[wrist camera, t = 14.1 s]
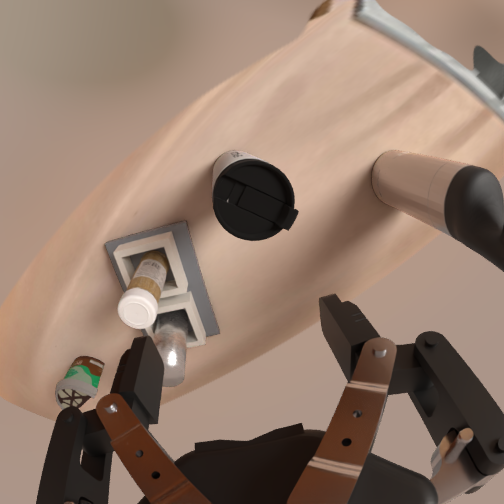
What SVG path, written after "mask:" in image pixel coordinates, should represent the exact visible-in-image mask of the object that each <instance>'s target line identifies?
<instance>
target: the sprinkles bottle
mask: <svg viewBox="0 0 504 504" xmlns="http://www.w3.org/2000/svg"><path fill="white" fill-rule="evenodd" d="M168 270H169V261H168V259H167V257H166V256H165V255H164V254H163V253H161V252H158V251H149V252H147V253H145V254H144V255H143V256H142V258H141V261H140V264H139V265H138V267H137V268H136V270H135V272H134V274H133V276H132V279H131V281H130V283H129V285H128V287H127V290H126V292H125V293H124V294H123V295H122V297H121V299H120V301H119V304H118V314H119V317H120V319H121V320H122V321H123V322H124V323H125V324H126V325H128V326H129V327H132V328H135V329H145V328H148V327H150V326H151V325H152V324H153V323H154V321H155V319H156V316H157V312H158V303H159V299H160V297H161V293H162V290H163V286H164V283H165V280H166V275H167V272H168Z"/></svg>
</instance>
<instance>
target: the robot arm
mask: <svg viewBox="0 0 504 504" xmlns="http://www.w3.org/2000/svg"><path fill="white" fill-rule="evenodd" d="M372 186H373V189H374V192H375V194H376V196H377V197H378V198H379V199H380V200H381V201H382V202H384V203H385V204H388V205H390V206H392V207H394V208H396V209H398V210H400V211H402V212H404V213H406V214H408V215H410V216H412V217H414V218H416V219H418V220H420V221H422V222H424V223H426V224H428V225H430V226H432V227H434V228H436V229H438V230H440V231H442V232H444V233H446V234H447V235H449V236H451V237H453V238H455V239H456V240H458V241H460V242H462V243H463V244H464V245H466V246H467V247H469V248H470V249H472V250H473V251H475V252H477V253H478V254H480V255H481V256H483V257H484V258H486V259H487V260H489V261H490V262H491V263H493V264H494V265H496V266H497V267H498V268H499V269H501V270H502V271H503V272H504V200H503V193H502V189H501V186H500V184H499V181H498V180H497V178H496V177H495V175H494V174H493V173H491V172H490V171H489V170H487V169H484V168H481V167H477V166H473V165H469V164H465V163H460V162H455V161H451V160H446V159H442V158H437V157H432V156H426V155H421V154H415V153H410V152H404V151H397V150H391V151H388V152H385V153H384V154H382V155H381V156H380V157H379V158H378V160H377V161H376V163H375V165H374V168H373V171H372ZM319 306H320V318H321V326H322V331H323V334H324V337H325V338H326V340H327V342H328V344H329V346H330V348H331V349H332V352H333V353H334V355H335V358H336V359H337V361H338V363H339V365H340V367H341V369H342V371H343V373H344V375H345V377H346V379H347V380H348V383H347V384H346V386H345V389H344V391H343V394H342V396H341V398H340V401H339V403H338V405H337V408H336V410H335V413H334V415H333V417H332V419H331V422H330V424H329V426H328V428H327V430H326V432H325V431H321V430H304V429H303V425H302V423H299V424H296V425H292V426H288V427H284V428H279V429H275V430H273V431H271V432H269V433H266V434H264V435H262V436H259V437H257V438H255V439H253V440H249V441H234V440H214V441H207V442H199V443H195V450H194V451H191V452H189V453H187V454H185V455H183V456H182V457H180V458H179V459H177V460H176V461H174V460H173V459H172V458H171V457H170V456H169V455H168V454H167V452H166V451H165V450H164V449H163V448H162V447H161V445H160V444H159V443H158V442H157V440H156V439H155V438H154V437H153V436H152V434H151V433H150V432H149V431H148V428H149V424H158V416H159V408H160V400H161V392H162V385H163V377H164V363H163V360H162V358H161V356H160V354H159V352H158V350H157V348H156V346H155V344H154V342H153V340H152V338H151V337H150V336H143V337H137V338H134V340H133V343H132V346H131V349H127V350H126V351H125V353H124V354H123V355H122V357H121V359H120V362H119V366H118V368H117V373H116V375H115V378H114V381H113V385H112V388H111V391H110V394H108V395H106V396H104V397H102V398H101V399H100V400H99V402H98V403H97V406H96V409H93V410H90V411H87V412H84V413H82V412H81V411H80V410H79V409H78V408H77V407H74V406H70V407H67V408H65V409H63V410H62V411H61V412H60V413H59V415H58V417H57V420H56V423H55V426H54V430H53V433H52V436H51V440H50V444H49V447H48V451H47V455H46V459H45V463H44V467H43V471H42V476H41V480H40V485H39V490H38V495H37V501H36V504H108V495H109V483H110V482H109V481H110V472H111V462H112V454H113V451H115V452H116V453H117V455H118V457H119V458H120V460H121V462H122V463H123V465H124V466H125V468H126V469H127V471H128V472H129V474H130V475H131V477H132V478H133V479H134V481H135V482H136V484H137V485H138V487H139V488H140V489H141V491H142V492H143V493H144V495H145V496H144V497H143V498H142V499H141V500H140V502H139V503H138V504H446V503H448V502H450V501H451V500H453V499H455V498H456V497H458V496H460V495H462V494H463V493H465V494H470V493H473V492H476V491H477V490H478V489H480V488H481V487H482V486H484V485H485V484H486V483H487V482H488V481H489V480H491V479H492V478H493V477H494V476H495V475H496V474H498V473H499V472H500V471H501V470H502V469H503V468H504V414H503V412H502V411H501V409H500V408H499V406H498V405H497V404H496V402H495V401H494V399H493V398H492V397H491V395H490V394H489V393H488V391H487V390H486V388H485V387H484V386H483V384H482V383H481V382H480V381H479V379H478V378H477V377H476V375H475V374H474V373H473V371H472V370H471V369H470V368H469V366H468V365H467V364H466V363H465V361H464V360H463V359H462V358H461V356H460V355H459V354H458V353H457V351H456V350H455V349H454V348H453V347H452V346H451V344H450V343H449V342H448V341H447V339H446V338H445V337H444V336H443V335H442V334H440V333H437V332H433V331H428V332H424V333H422V334H420V335H419V336H418V337H417V338H416V341H415V343H412V344H405V345H395V343H394V342H393V341H391V340H389V339H387V338H383V337H380V335H379V334H378V333H377V331H376V330H375V329H374V328H373V326H372V325H371V323H370V322H369V321H368V320H367V319H366V317H365V316H364V314H363V313H362V312H361V311H360V309H359V308H358V307H357V305H355V304H353V303H351V302H349V301H346V302H341V301H340V299H339V298H338V296H337V295H336V294H331V295H328V296H324V297H321V298H319ZM400 393H408V394H409V396H410V398H411V400H412V402H413V403H414V405H415V407H416V409H417V411H418V412H419V414H420V416H421V418H422V420H423V421H424V424H425V425H426V427H427V429H428V431H429V433H430V435H431V437H432V439H433V440H434V443H435V445H436V446H437V448H436V450H435V451H434V453H433V455H432V458H431V466H432V471H433V473H432V477H431V479H430V480H429V479H428V478H426V477H425V476H423V475H421V474H419V473H417V472H414V471H412V470H409V469H407V468H404V467H402V466H400V465H397V464H395V463H393V462H390V461H388V460H386V459H384V458H381V457H379V456H377V455H375V454H372V453H371V450H372V448H373V445H374V442H375V439H376V435H377V432H378V429H379V425H380V422H381V419H382V415H383V412H384V408H385V404H386V401H387V397H388V395H392V394H400ZM82 449H83V455H82V461H81V465H80V455H81V450H82Z"/></svg>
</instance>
